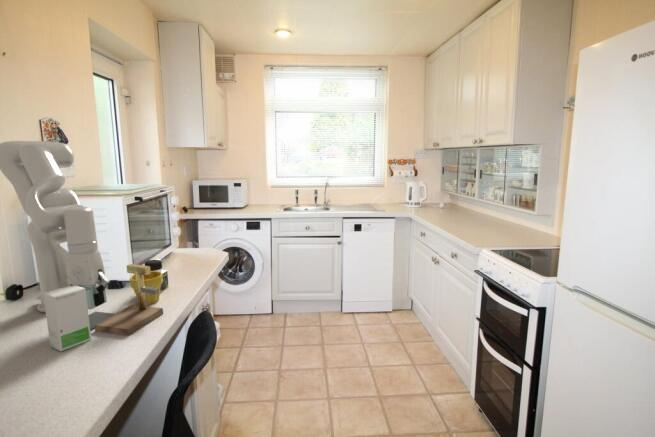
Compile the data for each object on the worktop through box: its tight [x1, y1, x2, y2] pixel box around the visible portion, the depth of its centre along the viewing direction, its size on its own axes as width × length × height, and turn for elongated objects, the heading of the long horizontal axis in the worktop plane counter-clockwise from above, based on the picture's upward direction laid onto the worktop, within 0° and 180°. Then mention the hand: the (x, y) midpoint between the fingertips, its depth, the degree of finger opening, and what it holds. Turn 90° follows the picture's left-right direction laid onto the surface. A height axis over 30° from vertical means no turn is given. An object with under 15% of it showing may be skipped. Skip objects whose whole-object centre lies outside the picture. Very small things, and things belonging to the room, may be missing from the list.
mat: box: [88, 311, 115, 332], centre depth 116 cm, size 9×11×1 cm
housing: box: [94, 304, 164, 336], centre depth 116 cm, size 12×15×2 cm
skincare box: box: [43, 285, 92, 352], centre depth 103 cm, size 8×7×16 cm
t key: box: [126, 263, 159, 310], centre depth 119 cm, size 2×11×14 cm, turn 68°
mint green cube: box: [80, 285, 108, 310], centre depth 115 cm, size 6×6×6 cm
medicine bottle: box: [144, 258, 170, 294], centre depth 142 cm, size 7×7×12 cm
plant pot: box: [129, 271, 163, 306], centre depth 131 cm, size 10×10×10 cm
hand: (90, 303), depth 115 cm, fingers closed on mint green cube, 6 cm apart
